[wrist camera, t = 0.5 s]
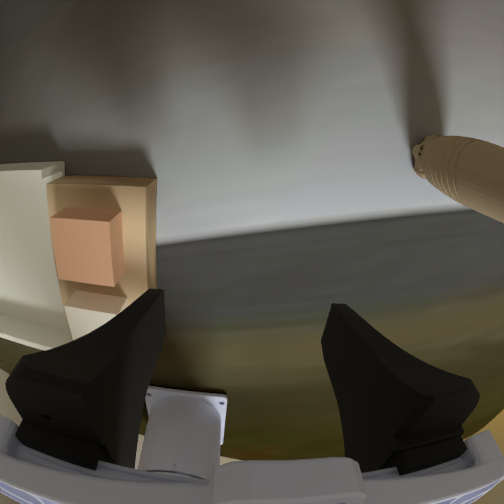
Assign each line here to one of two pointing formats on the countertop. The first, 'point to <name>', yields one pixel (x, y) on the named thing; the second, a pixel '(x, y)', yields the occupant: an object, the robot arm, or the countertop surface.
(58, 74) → the countertop surface
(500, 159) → the handle
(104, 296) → the cream tile
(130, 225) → the oak board
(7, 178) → the tray
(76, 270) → the terracotta tile
